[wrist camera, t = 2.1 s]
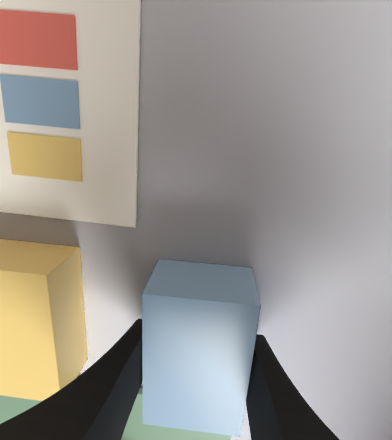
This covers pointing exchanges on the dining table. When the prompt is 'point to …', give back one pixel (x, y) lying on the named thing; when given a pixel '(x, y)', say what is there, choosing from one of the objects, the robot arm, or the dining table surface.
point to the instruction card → (70, 109)
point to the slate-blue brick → (198, 345)
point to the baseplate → (134, 430)
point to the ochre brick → (40, 318)
